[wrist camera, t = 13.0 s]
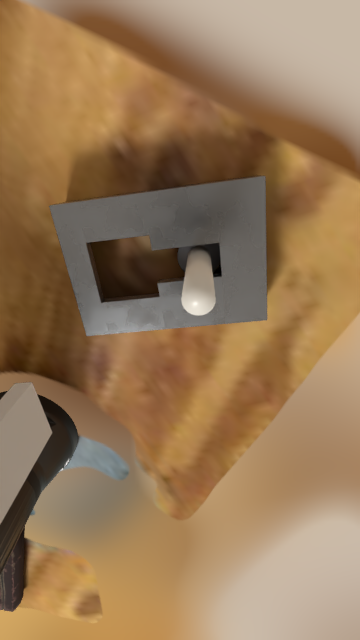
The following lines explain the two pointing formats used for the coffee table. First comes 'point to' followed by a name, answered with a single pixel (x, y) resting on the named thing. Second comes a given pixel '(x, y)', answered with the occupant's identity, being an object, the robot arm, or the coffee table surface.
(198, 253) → the peg
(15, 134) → the coffee table surface
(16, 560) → the diary
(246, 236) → the keyhole plate
